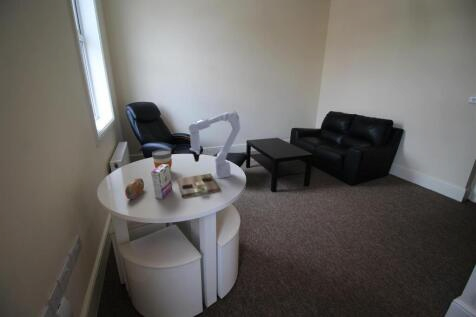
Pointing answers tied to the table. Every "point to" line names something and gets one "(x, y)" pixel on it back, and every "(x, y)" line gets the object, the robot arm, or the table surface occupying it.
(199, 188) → the maple block
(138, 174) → the table surface
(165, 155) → the orange jar
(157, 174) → the candy bar box
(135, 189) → the brown flattened oblong
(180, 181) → the board
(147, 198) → the table surface
